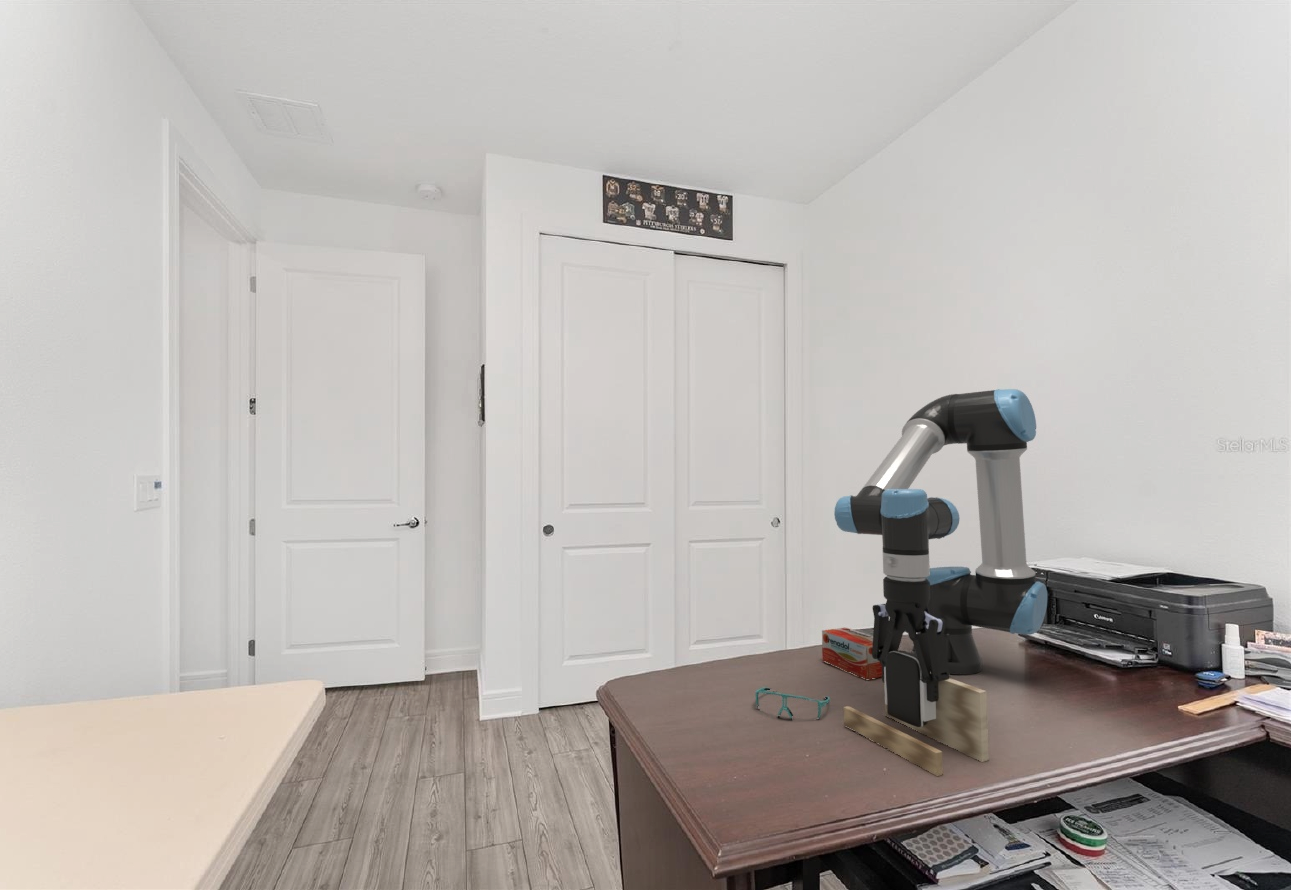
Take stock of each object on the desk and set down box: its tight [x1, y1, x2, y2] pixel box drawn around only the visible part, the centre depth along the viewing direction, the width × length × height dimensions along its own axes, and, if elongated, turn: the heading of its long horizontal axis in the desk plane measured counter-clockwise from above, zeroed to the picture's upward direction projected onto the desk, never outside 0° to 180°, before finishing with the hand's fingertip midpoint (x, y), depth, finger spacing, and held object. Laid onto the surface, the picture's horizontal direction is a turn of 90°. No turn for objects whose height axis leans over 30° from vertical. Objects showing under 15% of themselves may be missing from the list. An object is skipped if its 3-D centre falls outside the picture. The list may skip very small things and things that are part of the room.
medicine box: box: [821, 627, 882, 679], centre depth 142 cm, size 15×8×8 cm, turn 26°
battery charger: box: [886, 649, 928, 727], centre depth 104 cm, size 7×4×11 cm, turn 27°
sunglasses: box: [754, 686, 831, 719], centre depth 120 cm, size 14×15×5 cm
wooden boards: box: [843, 672, 990, 777], centre depth 104 cm, size 20×12×11 cm, turn 25°
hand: (909, 710), depth 104 cm, fingers closed on battery charger, 7 cm apart
